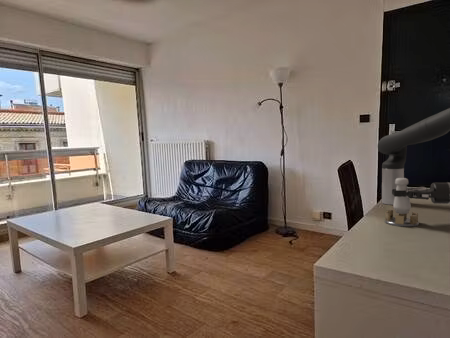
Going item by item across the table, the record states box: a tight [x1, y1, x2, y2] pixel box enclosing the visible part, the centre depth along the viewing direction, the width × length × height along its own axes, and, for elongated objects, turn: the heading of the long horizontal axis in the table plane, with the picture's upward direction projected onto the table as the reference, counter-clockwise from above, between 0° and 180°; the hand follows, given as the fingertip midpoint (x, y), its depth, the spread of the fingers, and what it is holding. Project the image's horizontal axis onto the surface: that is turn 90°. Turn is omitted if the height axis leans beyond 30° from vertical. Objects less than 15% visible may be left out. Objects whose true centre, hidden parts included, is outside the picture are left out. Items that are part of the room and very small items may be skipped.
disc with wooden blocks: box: [384, 209, 420, 228], centre depth 112 cm, size 11×11×4 cm
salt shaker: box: [392, 177, 412, 215], centre depth 111 cm, size 6×6×13 cm
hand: (393, 192), depth 112 cm, fingers closed on salt shaker, 3 cm apart
